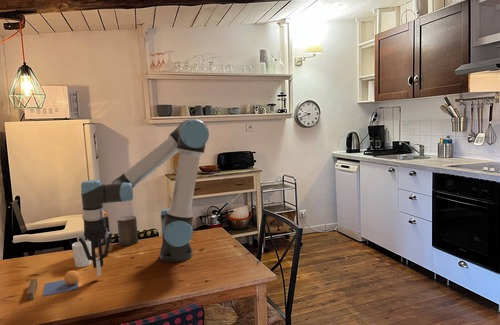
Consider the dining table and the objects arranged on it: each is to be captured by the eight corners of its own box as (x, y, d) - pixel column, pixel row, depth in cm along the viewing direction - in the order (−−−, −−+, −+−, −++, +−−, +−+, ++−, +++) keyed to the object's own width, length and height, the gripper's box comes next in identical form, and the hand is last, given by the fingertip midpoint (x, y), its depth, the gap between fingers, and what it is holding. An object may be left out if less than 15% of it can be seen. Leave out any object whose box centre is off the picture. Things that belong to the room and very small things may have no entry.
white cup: (85, 268, 163) (83, 246, 162) (70, 267, 165) (68, 246, 163) (96, 261, 171) (94, 240, 170) (81, 260, 172) (79, 240, 171)
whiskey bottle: (114, 250, 185) (108, 187, 181) (97, 257, 176) (90, 191, 173) (100, 247, 190) (95, 186, 186) (83, 253, 182) (77, 190, 178)
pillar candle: (141, 242, 196) (139, 214, 194) (124, 247, 189) (122, 218, 187) (132, 238, 202) (130, 212, 201) (115, 243, 195) (113, 216, 194)
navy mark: (78, 277, 153) (78, 277, 153) (78, 289, 142) (77, 288, 142) (45, 283, 148) (45, 283, 148) (42, 296, 138) (42, 295, 137)
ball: (64, 282, 148) (79, 280, 151) (63, 288, 143) (79, 286, 146) (64, 269, 148) (79, 267, 150) (63, 274, 143) (79, 272, 145)
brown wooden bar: (37, 284, 148) (36, 278, 148) (33, 299, 135) (32, 292, 135) (31, 285, 147) (31, 279, 147) (27, 300, 135) (26, 294, 134)
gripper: (110, 214, 154) (115, 268, 157) (76, 218, 149) (81, 274, 152) (111, 218, 147) (116, 274, 150) (76, 223, 142) (81, 281, 145)
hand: (99, 274), depth 151 cm, fingers closed
